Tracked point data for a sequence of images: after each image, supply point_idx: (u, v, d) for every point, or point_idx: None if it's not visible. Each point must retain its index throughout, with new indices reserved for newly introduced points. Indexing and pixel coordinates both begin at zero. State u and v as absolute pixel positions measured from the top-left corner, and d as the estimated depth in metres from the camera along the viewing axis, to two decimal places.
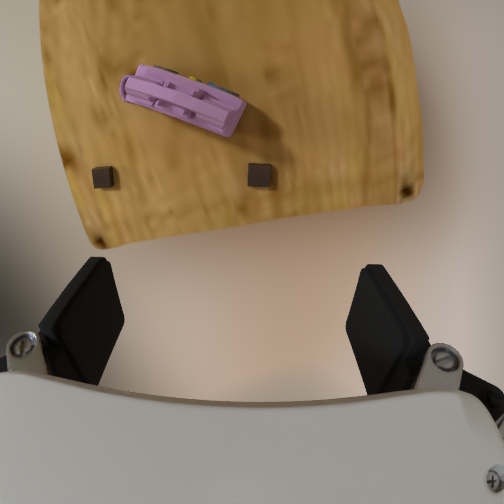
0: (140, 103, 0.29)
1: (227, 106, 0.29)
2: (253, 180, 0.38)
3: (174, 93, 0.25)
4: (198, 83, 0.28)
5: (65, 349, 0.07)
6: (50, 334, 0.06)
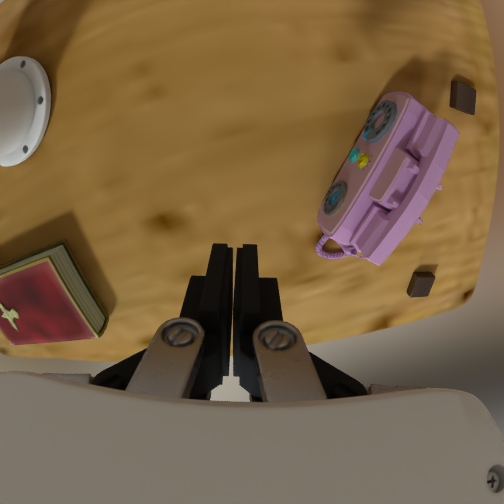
0: None
1: (424, 120, 0.17)
2: (470, 106, 0.21)
3: (418, 196, 0.17)
4: (383, 154, 0.19)
5: (220, 334, 0.08)
6: (212, 319, 0.07)
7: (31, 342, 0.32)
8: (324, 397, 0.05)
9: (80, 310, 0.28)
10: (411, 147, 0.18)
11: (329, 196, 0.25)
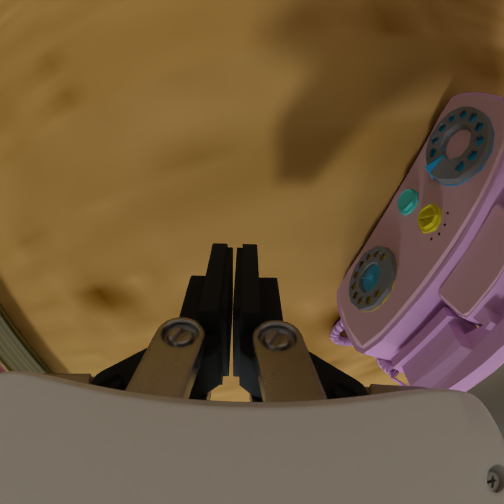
0: None
1: None
2: None
3: None
4: (473, 217, 0.09)
5: (220, 334, 0.08)
6: (213, 319, 0.07)
7: None
8: (324, 397, 0.05)
9: None
10: None
11: (360, 271, 0.14)
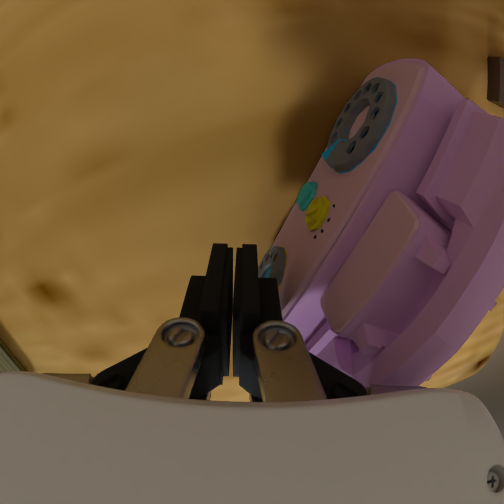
0: None
1: (464, 121, 0.06)
2: None
3: (433, 345, 0.06)
4: (358, 209, 0.08)
5: (220, 334, 0.08)
6: (212, 318, 0.07)
7: None
8: (324, 397, 0.05)
9: None
10: (431, 192, 0.07)
11: (259, 273, 0.14)
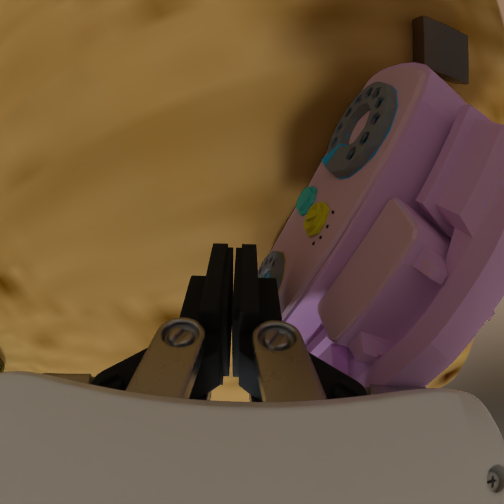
0: None
1: (466, 128, 0.06)
2: (457, 66, 0.09)
3: (428, 355, 0.06)
4: (356, 216, 0.08)
5: (220, 334, 0.08)
6: (213, 318, 0.07)
7: None
8: (323, 397, 0.05)
9: None
10: (430, 200, 0.07)
11: (258, 277, 0.14)
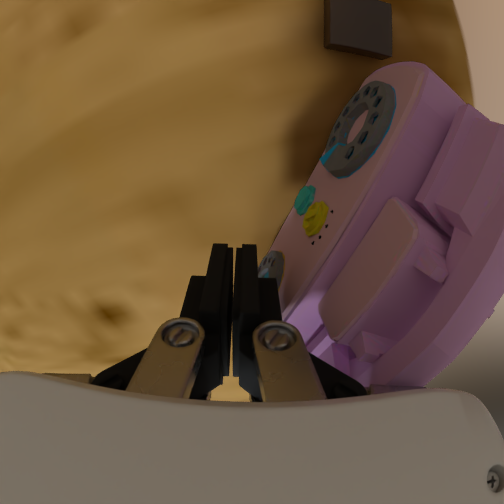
0: None
1: (465, 127, 0.06)
2: (376, 38, 0.09)
3: (430, 353, 0.06)
4: (356, 216, 0.08)
5: (220, 334, 0.08)
6: (213, 318, 0.07)
7: None
8: (323, 397, 0.05)
9: None
10: (430, 199, 0.07)
11: None
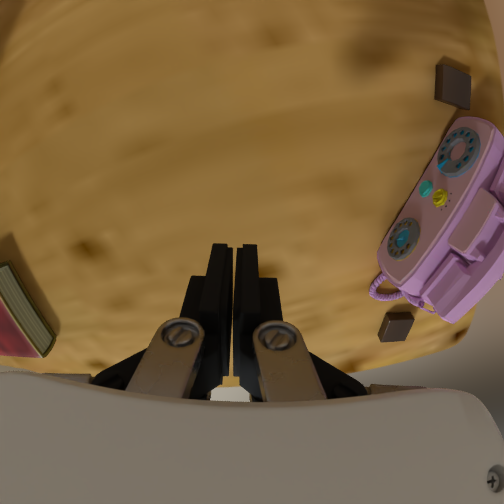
0: None
1: None
2: (463, 98, 0.15)
3: None
4: (466, 195, 0.14)
5: (220, 334, 0.08)
6: (212, 318, 0.07)
7: None
8: (324, 397, 0.05)
9: (23, 330, 0.24)
10: (496, 189, 0.13)
11: (395, 235, 0.20)
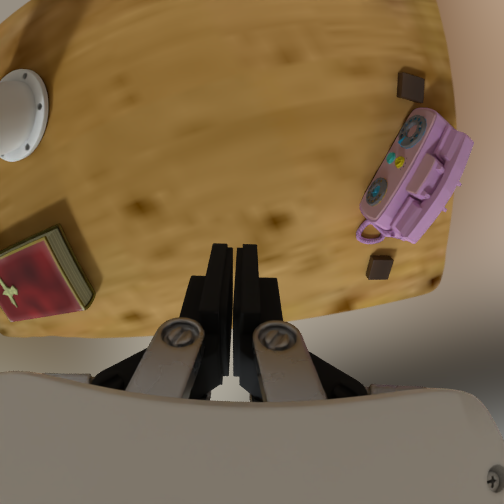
0: None
1: (447, 132, 0.21)
2: (417, 95, 0.24)
3: (444, 190, 0.21)
4: (416, 158, 0.24)
5: (220, 334, 0.08)
6: (212, 319, 0.07)
7: (28, 318, 0.36)
8: (324, 397, 0.05)
9: (69, 284, 0.33)
10: (437, 153, 0.22)
11: (371, 190, 0.29)
